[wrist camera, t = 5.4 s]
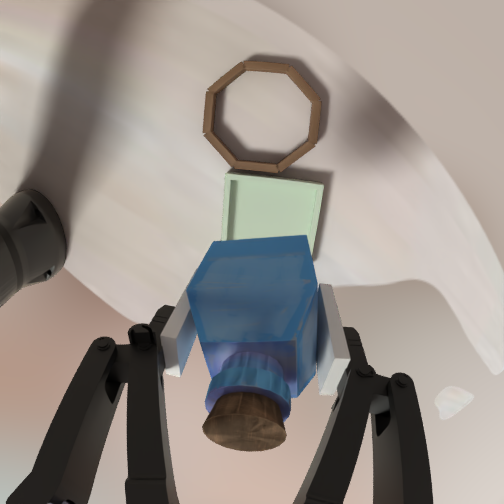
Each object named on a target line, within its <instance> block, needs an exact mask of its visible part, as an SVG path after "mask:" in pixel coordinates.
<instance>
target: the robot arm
mask: <svg viewBox="0 0 504 504" xmlns="http://www.w3.org/2000/svg"><path fill="white" fill-rule="evenodd" d="M65 256H66V243H65V236H64V232H63V228H62V225H61V223H60V220H59V218H58V216H57V214H56V212H55V210H54V208H53V207H52V205H51V204H50V203H49V201H48V200H47V199H46V198H45V197H44V196H43V195H41V194H40V193H38V192H37V191H34V190H24V191H21V192H19V193H16V194H14V195H13V196H11V197H10V198H9V199H8V200H7V201H6V202H5V203H4V204H3V205H2V206H1V207H0V307H1V306H2V305H3V304H4V303H6V302H7V301H8V300H9V299H10V298H11V297H12V296H13V295H14V294H15V293H16V292H18V291H19V290H20V289H21V288H23V287H27V286H31V285H34V284H37V283H40V282H44V281H47V280H49V279H51V278H52V277H53V276H54V275H56V274H57V273H58V272H59V271H60V270H61V268H62V267H63V264H64V261H65ZM197 269H198V268H197ZM197 269H196V271H197ZM196 271H195V273H196ZM195 273H194V274H195ZM193 276H194V275H193ZM193 276H192V278H193ZM192 278H191V280H192ZM191 280H190V282H191ZM190 282H189V283H190ZM189 283H188V285H189ZM188 285H187V287H188ZM187 287H186V289H187ZM186 289H185V291H184V292H183V294H182V296H181V298H180V300H179V302H178V303H177V305H176V307H174V306H168V305H164V306H163V307H161V308H160V309H158V311H157V312H156V314H155V316H154V317H153V319H152V321H151V322H150V324H149V325H148V324H143V323H142V324H136V325H134V326H132V327H131V328H130V329H129V331H128V336H129V341H130V344H126V345H116V344H115V341H114V340H113V339H112V338H110V337H100V338H97V339H96V340H94V341H93V343H92V344H91V346H90V347H89V349H88V351H87V353H86V355H85V356H84V358H83V360H82V362H81V364H80V366H79V368H78V369H77V372H76V373H75V375H74V377H73V379H72V381H71V383H70V385H69V387H68V389H67V391H66V393H65V395H64V397H63V399H62V401H61V403H60V405H59V407H58V410H57V412H56V414H55V416H54V418H53V420H52V423H51V425H50V427H49V429H48V432H47V434H46V436H45V439H44V441H43V444H42V446H41V449H40V451H39V454H38V456H37V459H36V461H35V464H34V467H33V469H32V472H31V473H30V474H29V475H28V476H27V477H26V478H25V479H24V480H23V482H22V483H21V484H20V485H19V486H18V487H17V488H16V489H15V491H14V492H13V493H12V494H11V495H10V496H9V497H8V499H7V501H6V504H87V503H88V500H89V497H90V494H91V490H92V487H93V483H94V479H95V475H96V472H97V468H98V465H99V461H100V458H101V454H102V451H103V448H104V445H105V441H106V438H107V435H108V432H109V429H110V426H111V423H112V420H113V417H114V414H115V411H116V408H117V405H118V402H119V399H120V396H121V394H122V391H123V388H124V385H125V383H128V392H127V393H128V394H127V458H128V459H127V460H128V478H127V479H126V481H125V494H126V504H179V500H178V497H177V492H176V487H175V481H174V476H173V468H172V462H171V454H170V446H169V439H168V429H167V419H166V409H165V396H164V380H163V371H164V369H166V373H167V374H168V375H172V376H177V377H181V375H182V372H183V369H184V367H185V364H186V362H187V359H188V356H189V354H190V351H191V348H192V346H193V343H194V340H195V338H196V335H197V330H196V327H195V323H194V319H193V316H192V312H191V308H190V304H189V301H188V297H187V293H186ZM316 363H317V373H318V384H319V394H320V395H334V394H335V392H336V390H337V392H338V397H337V398H336V400H335V402H334V404H333V406H332V412H331V415H330V418H329V421H328V423H327V426H326V429H325V431H324V434H323V436H322V439H321V442H320V444H319V447H318V449H317V452H316V454H315V456H314V459H313V461H312V463H311V466H310V468H309V470H308V473H307V475H306V477H305V480H304V481H303V484H302V486H301V488H300V490H299V492H298V494H297V496H296V498H295V500H294V502H293V504H343V501H344V498H345V495H346V492H347V490H348V487H349V484H350V481H351V477H352V474H353V471H354V468H355V465H356V462H357V458H358V455H359V451H360V447H361V444H362V440H363V436H364V432H365V428H366V424H367V419H368V415H369V413H371V423H372V440H373V476H374V477H373V485H374V486H373V504H433V494H432V482H431V474H430V465H429V459H428V451H427V445H426V439H425V433H424V427H423V422H422V417H421V412H420V408H419V404H418V399H417V395H416V391H415V386H414V382H413V380H412V379H411V378H410V377H409V376H408V375H406V374H405V373H395V374H393V375H392V377H391V378H388V377H384V376H381V375H378V374H376V372H375V370H374V368H372V367H371V366H370V365H368V363H367V360H366V356H365V353H364V349H363V347H362V343H361V339H360V336H359V333H358V332H357V331H356V330H355V329H354V328H352V327H343V326H342V322H341V318H340V315H339V311H338V307H337V304H336V300H335V296H334V293H333V289H332V286H331V285H330V284H321V283H320V284H319V289H318V304H317V352H316Z"/></svg>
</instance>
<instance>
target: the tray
mask: <svg viewBox="0 0 504 504" xmlns="http://www.w3.org/2000/svg"><path fill="white" fill-rule="evenodd" d="M323 188H324V185H323V183H320V182H313V181H307V180H299V179H292V178H284V177H276V176H267V175H258V174H248V173H238V172H227V173H226V174H225V185H224V200H223V217H222V235H221V241H226V240H239V239H252V238H266V237H279V236H294V235H307V238H308V243H309V247H310V251H311V256H312V252H313V247H314V241H315V236H316V230H317V225H318V219H319V213H320V207H321V201H322V195H323Z"/></svg>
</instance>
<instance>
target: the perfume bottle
mask: <svg viewBox="0 0 504 504" xmlns="http://www.w3.org/2000/svg"><path fill="white" fill-rule="evenodd" d="M186 293H187V297H188V301H189V304H190V308H191V312H192V316H193V319H194V323H195V327H196V330H197V334H198V337H199V341H200V344H201V347H202V351H203V354H204V357H205V360H206V363H207V367H208V369H209V372H210V375H211V379H212V380H211V382H210V384H209V388H208V392H207V396H206V399H205V406H206V409H207V411H208V412H209V415H208V417H207V419H206V421H205V422H204V424H203V426H202V428H203V432H204V434H205V435H206V436H207V437H208V438H209V439H210V440H212V441H213V442H215V443H216V444H219V445H221V446H224V447H226V448H230V449H234V450H240V451H264V450H268V449H273V448H275V447H277V446H279V445H281V444H282V443H283V442H284V441H285V439H286V436H287V435H286V431H285V427H284V423H283V422H284V421H285V420H286V419H287V418H288V417H289V415H290V411H291V398H297V397H298V396H299V395H300V393H301V392H302V391H303V390H304V388H305V387H306V386H307V385H308V383H309V382H310V381H311V379H312V378H313V377H314V376H315V373H316V352H317V304H318V283H317V279H316V274H315V269H314V265H313V260H312V256H311V251H310V247H309V243H308V238H307V235H294V236H279V237H266V238H252V239H239V240H226V241H213V243H212V244H211V246H210V248H209V250H208V251H207V253H206V255H205V257H204V258H203V260H202V262H201V264H200V266H199V267H198V269H197V271H196V273H195V274H194V276H193V278H192V280H191V282H190V283H189V285H188V287H187V289H186Z"/></svg>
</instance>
